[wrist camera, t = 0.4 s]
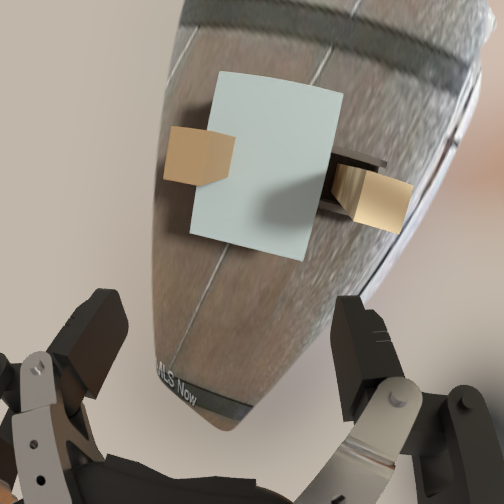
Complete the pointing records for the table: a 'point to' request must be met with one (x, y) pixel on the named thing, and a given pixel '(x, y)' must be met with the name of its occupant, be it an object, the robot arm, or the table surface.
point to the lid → (258, 162)
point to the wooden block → (372, 197)
